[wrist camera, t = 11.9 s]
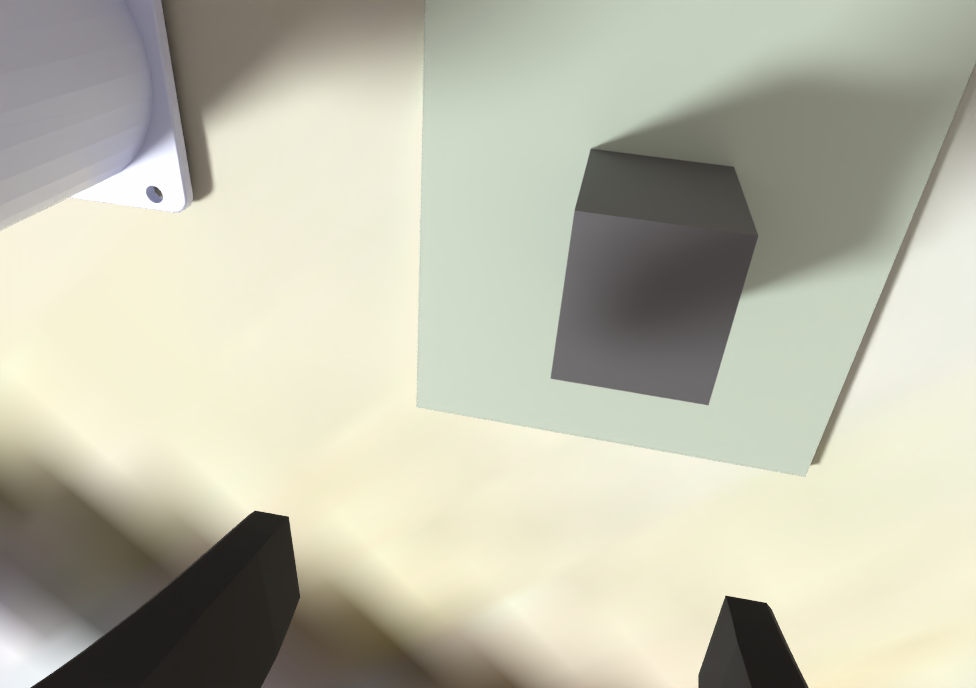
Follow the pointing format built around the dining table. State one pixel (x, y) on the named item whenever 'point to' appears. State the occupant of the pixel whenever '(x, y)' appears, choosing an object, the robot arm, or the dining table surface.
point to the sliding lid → (671, 209)
